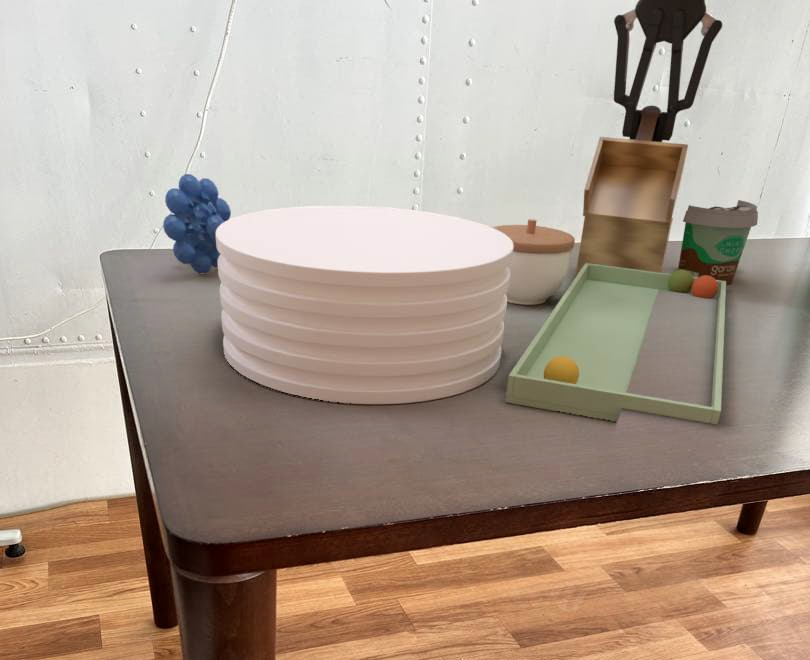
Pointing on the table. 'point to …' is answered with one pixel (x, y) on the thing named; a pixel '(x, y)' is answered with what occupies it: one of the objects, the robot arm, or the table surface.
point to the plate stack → (363, 302)
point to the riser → (623, 244)
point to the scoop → (635, 176)
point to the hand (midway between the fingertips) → (641, 165)
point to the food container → (716, 239)
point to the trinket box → (536, 261)
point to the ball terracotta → (704, 287)
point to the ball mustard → (562, 370)
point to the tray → (605, 348)
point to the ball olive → (680, 281)
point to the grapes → (195, 221)
